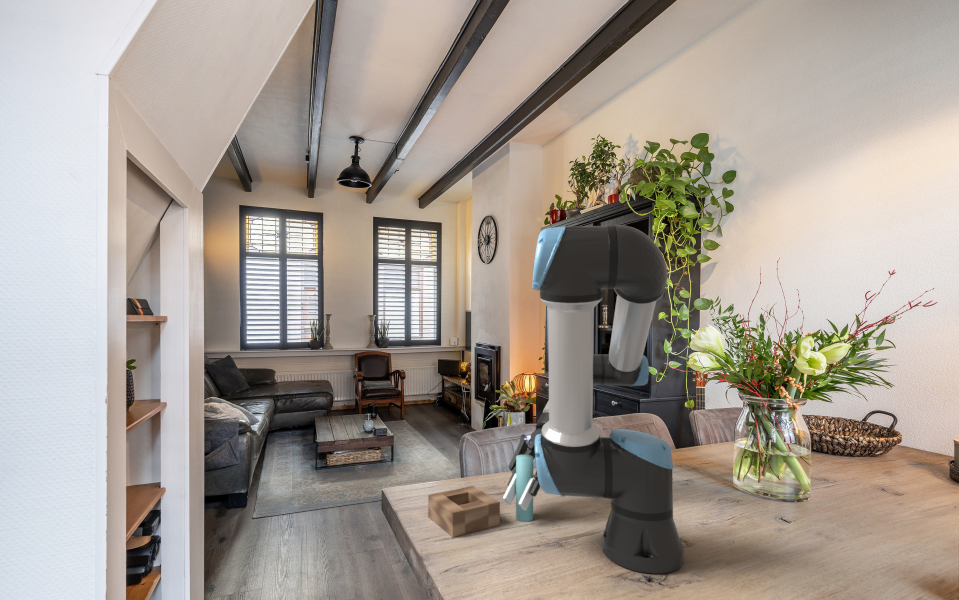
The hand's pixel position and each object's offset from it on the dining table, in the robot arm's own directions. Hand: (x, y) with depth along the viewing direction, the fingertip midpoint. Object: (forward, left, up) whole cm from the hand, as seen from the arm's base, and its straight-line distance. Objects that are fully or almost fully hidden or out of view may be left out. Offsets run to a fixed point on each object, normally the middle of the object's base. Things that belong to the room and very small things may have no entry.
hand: (514, 504), depth 104 cm
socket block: (+7, +9, -4) cm, 12 cm away
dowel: (+1, -4, -4) cm, 6 cm away
